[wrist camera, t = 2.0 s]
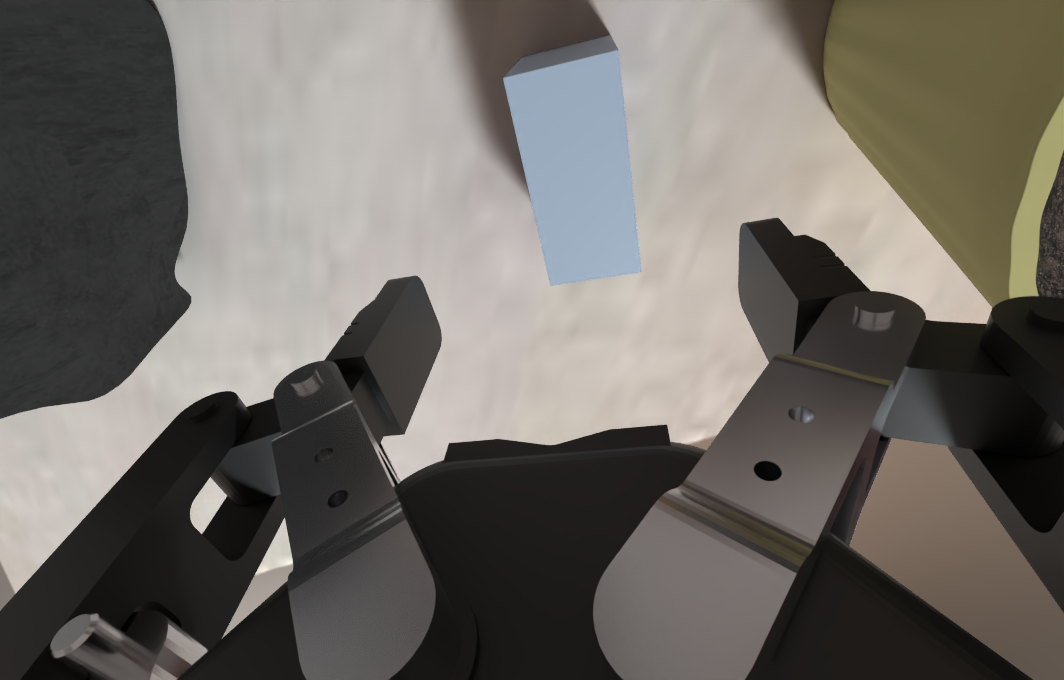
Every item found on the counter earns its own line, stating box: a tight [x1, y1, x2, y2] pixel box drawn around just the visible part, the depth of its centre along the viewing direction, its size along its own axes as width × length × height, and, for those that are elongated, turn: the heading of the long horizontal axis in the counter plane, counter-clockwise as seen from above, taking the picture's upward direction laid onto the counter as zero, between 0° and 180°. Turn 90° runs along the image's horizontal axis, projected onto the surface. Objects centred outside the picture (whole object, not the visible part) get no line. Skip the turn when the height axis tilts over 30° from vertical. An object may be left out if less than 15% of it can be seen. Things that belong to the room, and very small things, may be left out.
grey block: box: [503, 35, 641, 286], centre depth 20 cm, size 8×4×6 cm, turn 13°
